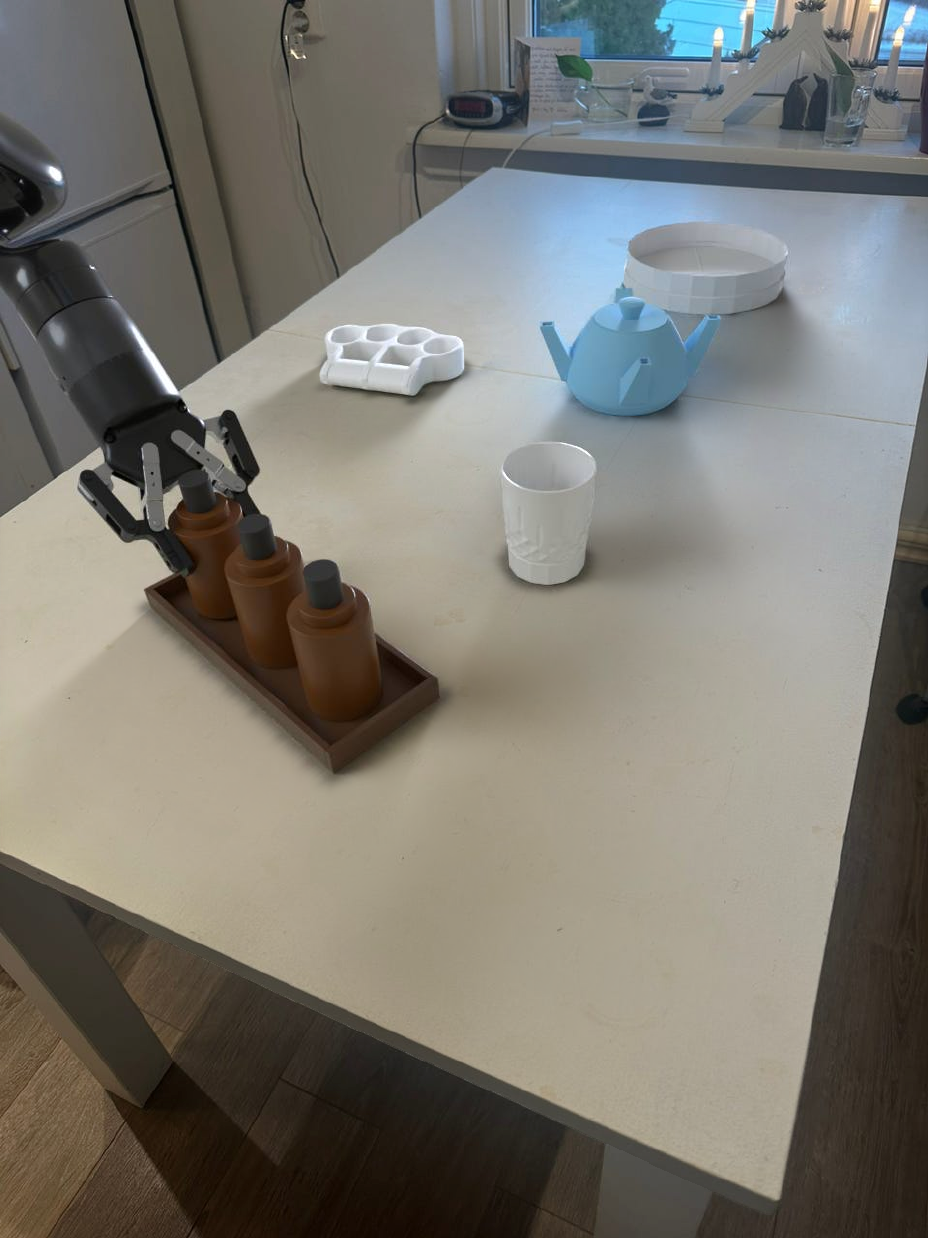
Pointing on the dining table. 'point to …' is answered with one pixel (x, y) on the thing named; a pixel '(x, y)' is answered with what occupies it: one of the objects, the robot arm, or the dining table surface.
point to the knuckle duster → (390, 358)
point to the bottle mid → (265, 590)
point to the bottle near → (335, 645)
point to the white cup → (547, 510)
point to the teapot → (629, 356)
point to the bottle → (207, 541)
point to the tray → (297, 680)
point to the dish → (705, 267)
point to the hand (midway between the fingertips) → (225, 554)
